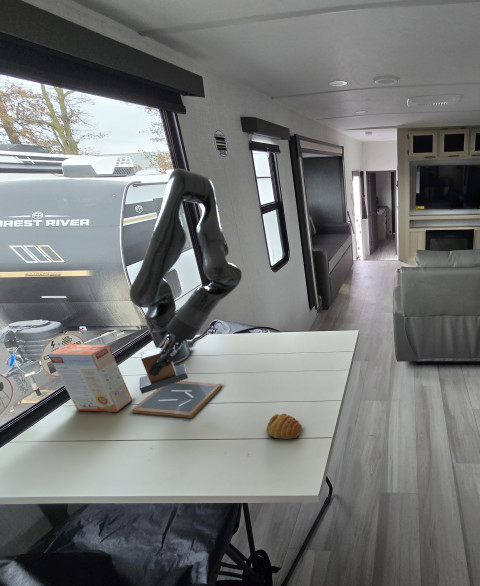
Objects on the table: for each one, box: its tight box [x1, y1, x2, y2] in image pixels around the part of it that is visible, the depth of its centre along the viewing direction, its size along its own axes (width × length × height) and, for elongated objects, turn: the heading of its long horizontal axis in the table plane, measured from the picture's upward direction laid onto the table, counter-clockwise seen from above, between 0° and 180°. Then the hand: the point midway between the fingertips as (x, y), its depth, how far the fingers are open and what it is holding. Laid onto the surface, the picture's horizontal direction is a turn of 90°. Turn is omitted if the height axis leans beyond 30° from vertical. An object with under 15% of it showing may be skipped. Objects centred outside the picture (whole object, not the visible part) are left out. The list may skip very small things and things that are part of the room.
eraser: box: [139, 347, 189, 395], centre depth 88 cm, size 6×11×10 cm, turn 126°
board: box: [131, 380, 222, 419], centre depth 99 cm, size 14×20×1 cm
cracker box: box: [47, 343, 133, 413], centre depth 94 cm, size 14×6×21 cm, turn 84°
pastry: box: [265, 413, 303, 440], centre depth 85 cm, size 9×7×4 cm
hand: (152, 370), depth 87 cm, fingers closed on eraser, 4 cm apart
